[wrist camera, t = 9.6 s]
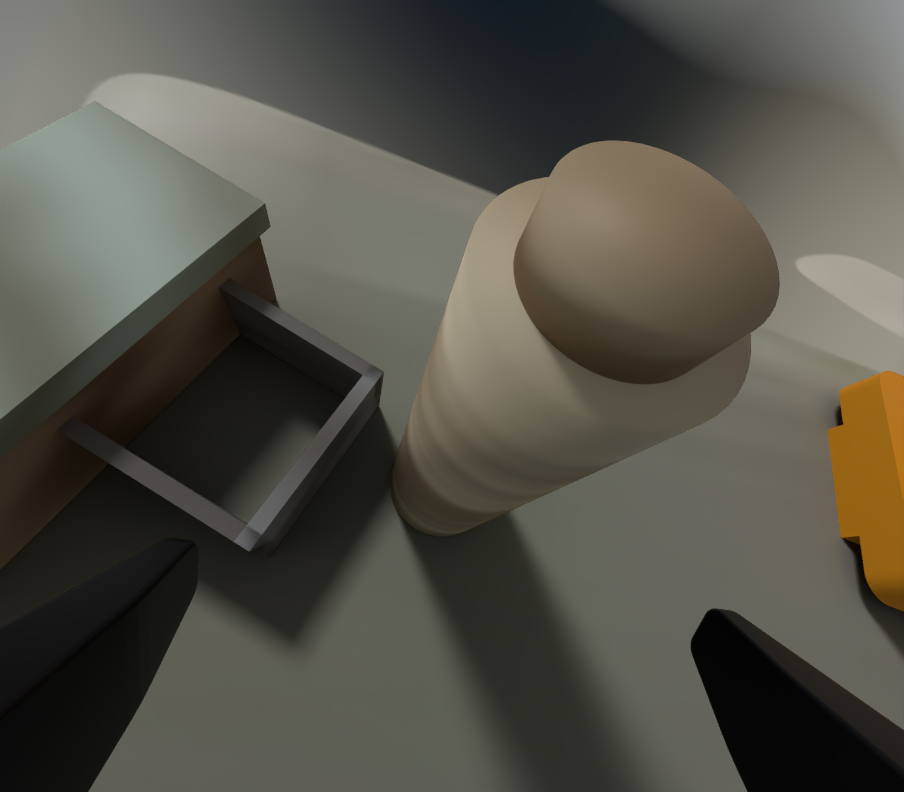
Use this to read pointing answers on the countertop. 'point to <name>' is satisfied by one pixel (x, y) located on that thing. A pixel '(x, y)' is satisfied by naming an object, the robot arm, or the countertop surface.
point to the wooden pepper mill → (582, 332)
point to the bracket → (873, 479)
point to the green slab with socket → (137, 321)
